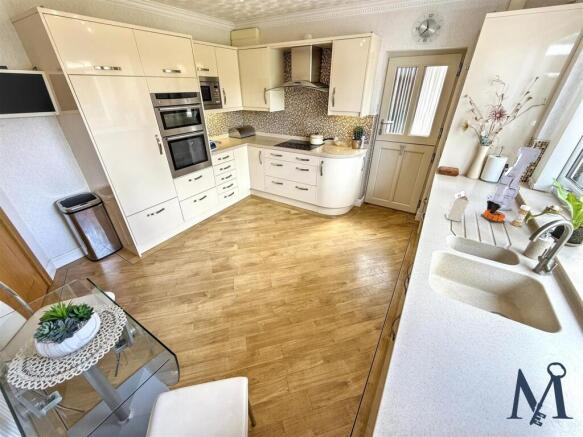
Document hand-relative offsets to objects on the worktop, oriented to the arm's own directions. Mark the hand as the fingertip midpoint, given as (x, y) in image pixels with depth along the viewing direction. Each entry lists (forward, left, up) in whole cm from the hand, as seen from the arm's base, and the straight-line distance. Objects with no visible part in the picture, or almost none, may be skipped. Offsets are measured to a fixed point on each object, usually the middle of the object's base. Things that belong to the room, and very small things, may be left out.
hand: (489, 212), depth 158 cm
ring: (0, +4, -1) cm, 4 cm away
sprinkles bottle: (-11, +10, -3) cm, 15 cm away
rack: (0, +4, -3) cm, 5 cm away
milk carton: (+27, +6, -3) cm, 28 cm away
